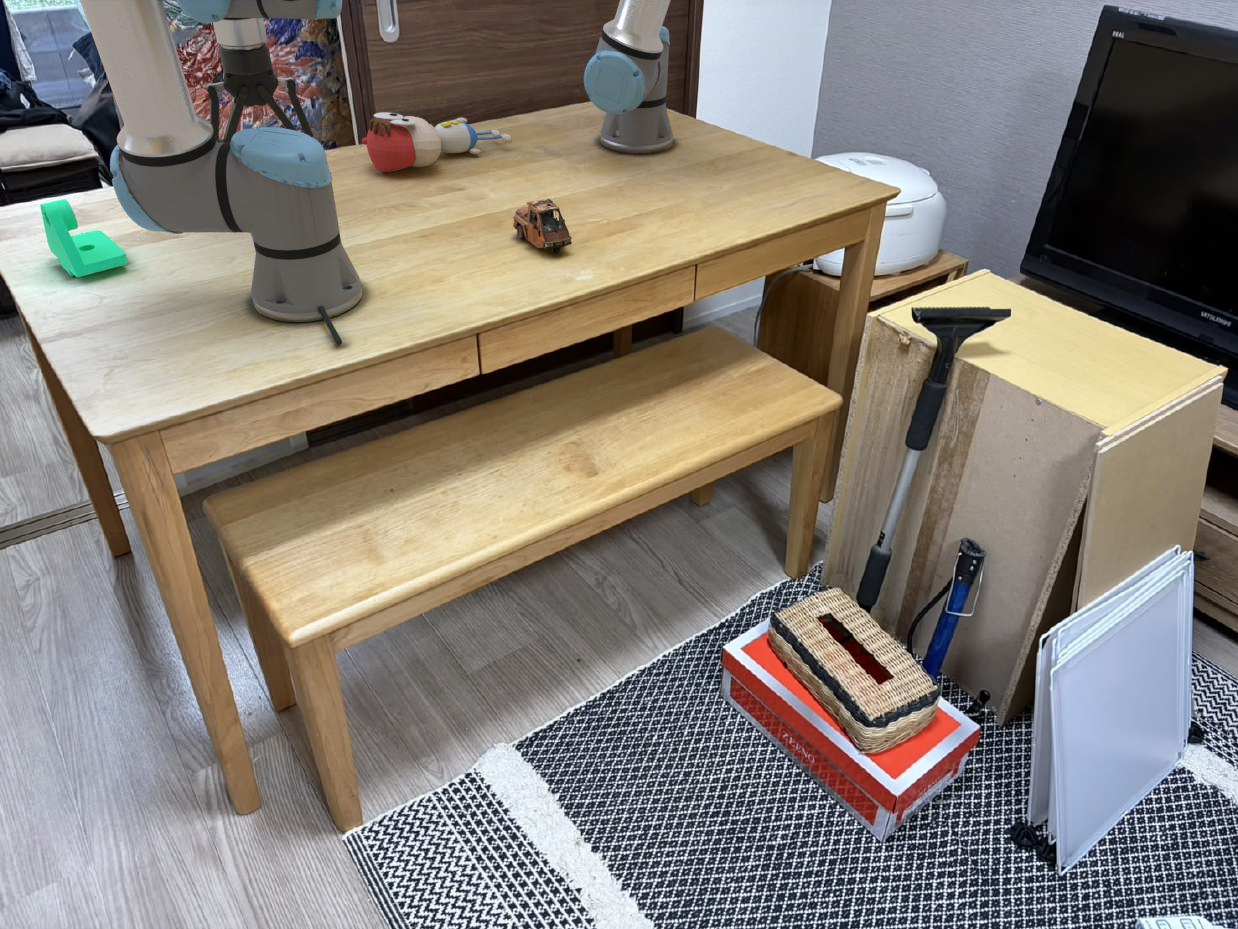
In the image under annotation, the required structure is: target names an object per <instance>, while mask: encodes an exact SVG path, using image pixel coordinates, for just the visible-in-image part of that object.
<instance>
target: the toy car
mask: <svg viewBox="0 0 1238 929" xmlns="http://www.w3.org/2000/svg"><path fill="white" fill-rule="evenodd" d="M526 205H527V206H525V207H519V208H517V209H516V210H515V214H514V216H513V217H512V219H513V224H512V227H513V228H514V230H516V232H517V237H518V239H519V240H525V241H528V242H529V243H531V244H532V245H533V246H534V247H535V248H537V249H538V250H541V251H546V250H549V249H551V250H552V253H553V254H555V255H556V256H557V255H559V254H560V253H561V249H562V248H565V247H567V246H570V245H572V244H573V242H572V238H573V237H572V236H571V235H570V232H569V229H568V227H567V224H566V219H564V217H563V215H562V213H561V211H560V209H561V207H559V206H558V205H557V204H555V202H553V200H552V199H551V198H542V199H538V200H531V201H527V202H526ZM554 212H555V213H554ZM557 213H558V216H557Z"/></svg>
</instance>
